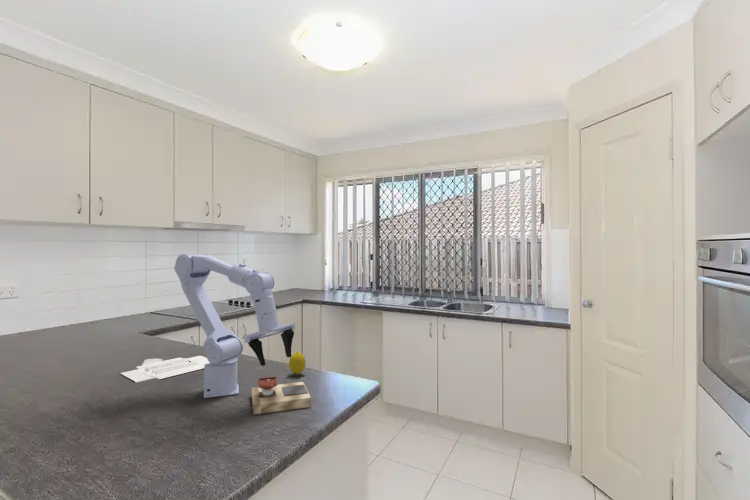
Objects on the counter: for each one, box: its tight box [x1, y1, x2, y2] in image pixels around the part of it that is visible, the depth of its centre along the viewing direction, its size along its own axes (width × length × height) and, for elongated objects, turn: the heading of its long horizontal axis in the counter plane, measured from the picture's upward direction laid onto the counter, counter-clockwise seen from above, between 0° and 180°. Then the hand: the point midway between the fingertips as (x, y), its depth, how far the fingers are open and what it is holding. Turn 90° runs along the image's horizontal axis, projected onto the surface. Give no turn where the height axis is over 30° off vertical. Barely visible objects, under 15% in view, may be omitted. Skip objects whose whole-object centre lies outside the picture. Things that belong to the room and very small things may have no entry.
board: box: [251, 381, 312, 416], centre depth 105 cm, size 15×13×3 cm
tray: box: [119, 355, 210, 384], centre depth 134 cm, size 20×28×4 cm
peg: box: [257, 375, 278, 398], centre depth 104 cm, size 5×5×7 cm
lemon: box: [288, 351, 306, 376], centre depth 128 cm, size 6×6×8 cm
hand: (276, 361), depth 106 cm, fingers open, 7 cm apart
